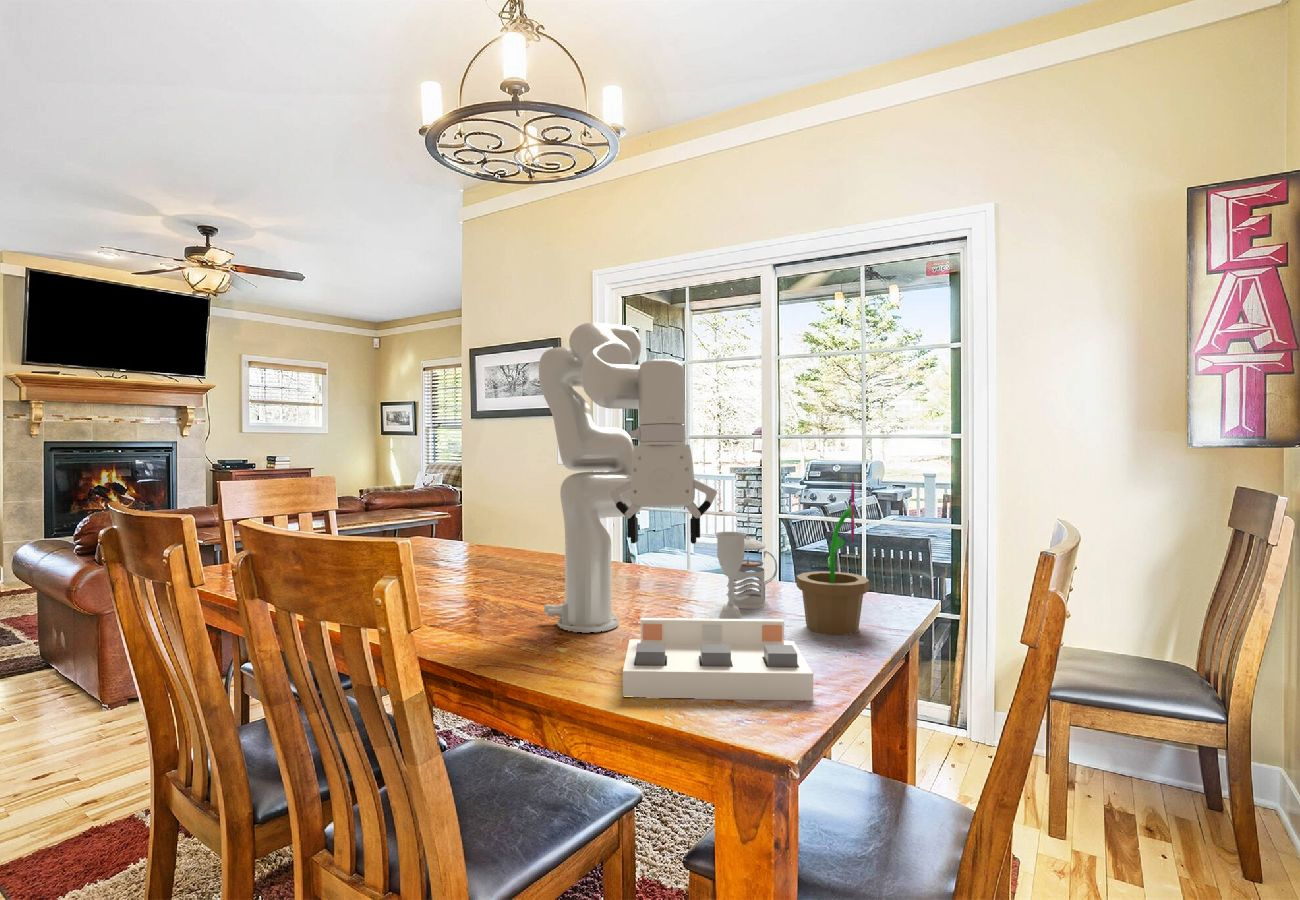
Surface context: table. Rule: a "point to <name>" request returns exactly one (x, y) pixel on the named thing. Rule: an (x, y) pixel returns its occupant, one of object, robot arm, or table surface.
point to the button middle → (715, 655)
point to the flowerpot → (833, 591)
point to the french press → (751, 596)
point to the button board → (704, 682)
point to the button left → (650, 654)
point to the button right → (780, 656)
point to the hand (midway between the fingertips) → (663, 542)
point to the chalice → (730, 566)
